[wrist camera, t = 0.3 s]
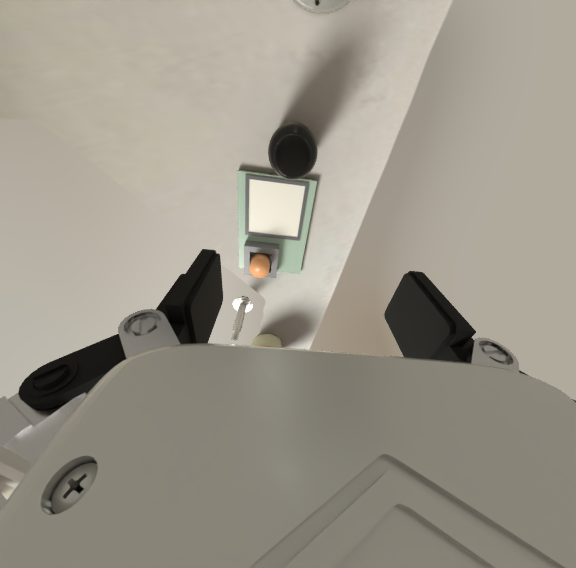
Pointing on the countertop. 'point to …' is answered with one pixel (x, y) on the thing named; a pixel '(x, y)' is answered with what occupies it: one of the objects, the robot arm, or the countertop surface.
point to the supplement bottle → (292, 151)
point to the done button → (260, 265)
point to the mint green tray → (273, 219)
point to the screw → (240, 314)
